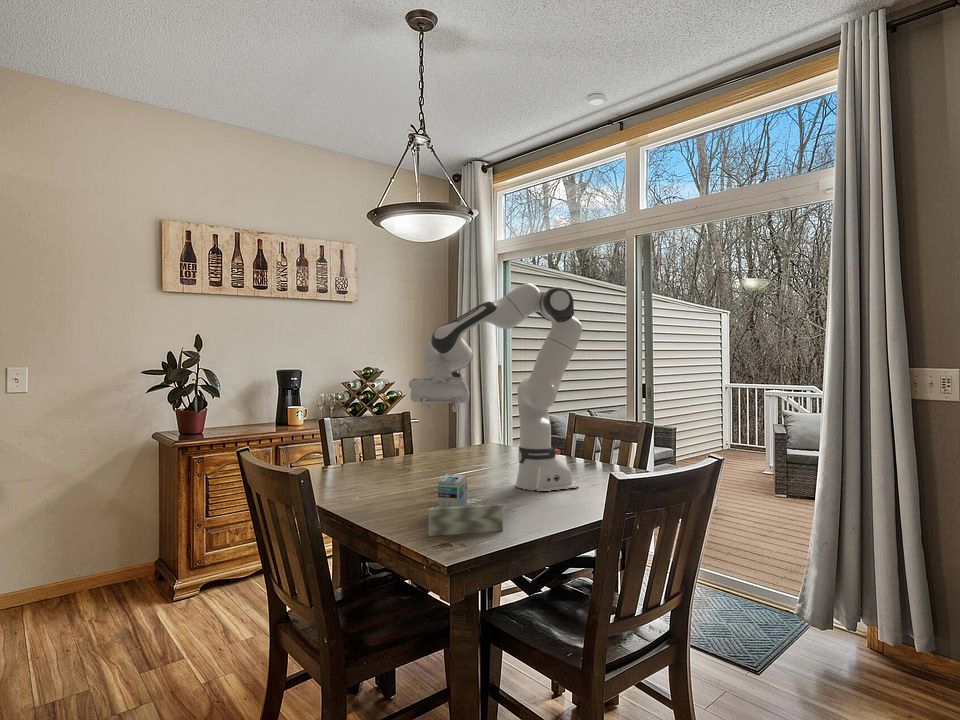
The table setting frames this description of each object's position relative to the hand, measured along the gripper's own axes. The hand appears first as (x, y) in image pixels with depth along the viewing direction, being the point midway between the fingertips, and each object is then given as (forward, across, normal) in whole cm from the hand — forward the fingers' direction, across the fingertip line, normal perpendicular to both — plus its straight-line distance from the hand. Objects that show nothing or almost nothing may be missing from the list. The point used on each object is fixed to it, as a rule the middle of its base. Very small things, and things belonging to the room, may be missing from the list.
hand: (441, 410), depth 195 cm
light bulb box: (+36, +1, +5) cm, 36 cm away
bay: (+44, 0, -4) cm, 45 cm away
